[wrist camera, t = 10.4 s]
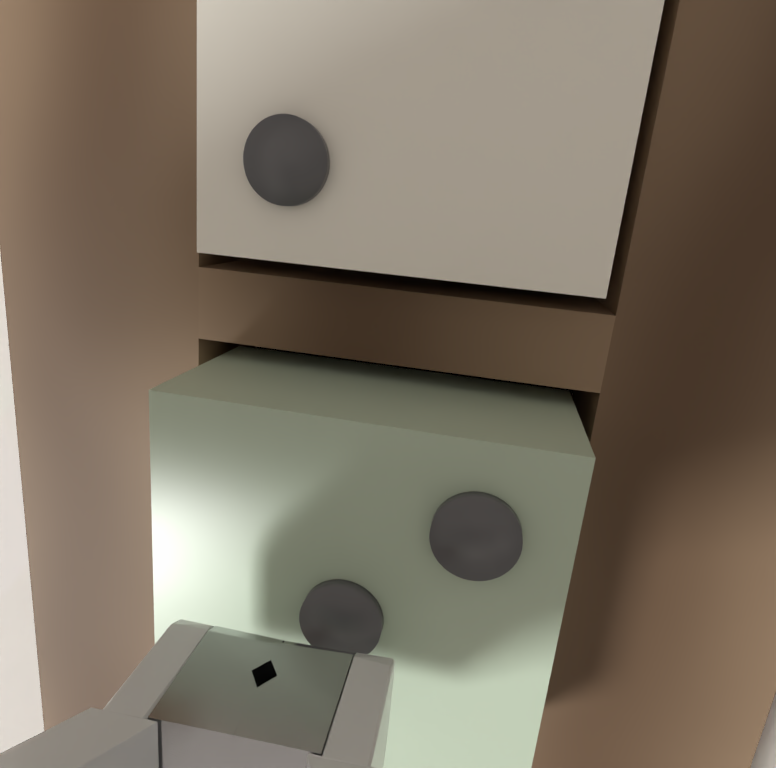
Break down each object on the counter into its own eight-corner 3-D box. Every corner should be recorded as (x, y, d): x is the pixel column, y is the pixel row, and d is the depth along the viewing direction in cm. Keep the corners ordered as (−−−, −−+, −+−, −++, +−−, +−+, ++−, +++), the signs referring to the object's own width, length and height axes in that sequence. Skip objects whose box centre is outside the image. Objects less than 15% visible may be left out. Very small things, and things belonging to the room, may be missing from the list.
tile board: (976, -255, 8) (1166, -445, 6) (613, 968, 15) (634, 1104, 13) (71, -237, 10) (-57, -372, 8) (122, 832, 18) (62, 929, 15)
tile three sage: (569, 391, 10) (598, 464, 7) (515, 676, 12) (521, 834, 9) (239, 345, 11) (140, 393, 8) (234, 617, 13) (150, 741, 10)
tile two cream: (649, -110, 9) (721, -271, 6) (578, 278, 11) (608, 300, 8) (282, -114, 10) (188, -258, 7) (270, 244, 12) (190, 253, 9)
